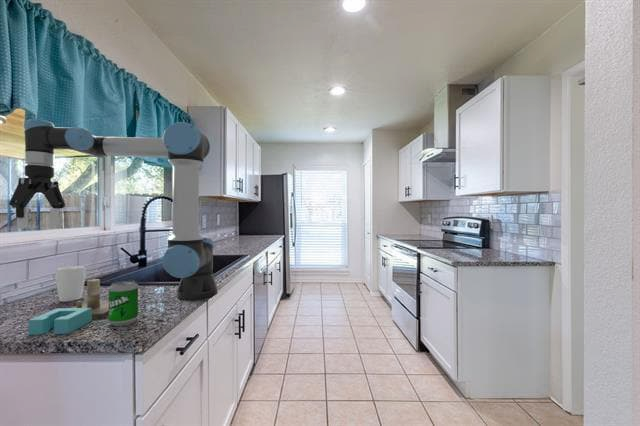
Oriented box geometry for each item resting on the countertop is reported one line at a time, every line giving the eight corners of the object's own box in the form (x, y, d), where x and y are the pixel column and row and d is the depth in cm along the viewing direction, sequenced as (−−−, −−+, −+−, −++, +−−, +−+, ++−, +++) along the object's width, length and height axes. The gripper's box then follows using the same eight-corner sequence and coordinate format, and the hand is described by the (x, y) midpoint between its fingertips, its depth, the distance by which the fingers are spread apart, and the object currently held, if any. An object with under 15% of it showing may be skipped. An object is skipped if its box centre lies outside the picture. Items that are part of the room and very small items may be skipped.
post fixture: (126, 304, 110) (126, 275, 110) (102, 318, 96) (102, 285, 96) (85, 305, 109) (85, 276, 109) (54, 319, 95) (55, 285, 95)
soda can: (126, 317, 98) (126, 279, 98) (143, 320, 95) (143, 281, 95) (102, 325, 91) (102, 284, 91) (120, 328, 88) (120, 286, 88)
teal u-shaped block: (56, 321, 93) (56, 308, 93) (91, 320, 94) (91, 307, 94) (28, 334, 83) (28, 320, 83) (67, 333, 84) (67, 319, 84)
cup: (54, 298, 118) (55, 267, 118) (84, 294, 124) (84, 264, 124) (55, 304, 111) (55, 270, 111) (86, 299, 117) (86, 268, 117)
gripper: (56, 170, 119) (55, 225, 119) (-7, 159, 94) (-8, 229, 94) (76, 170, 119) (76, 225, 119) (19, 159, 94) (19, 229, 94)
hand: (39, 227), depth 107 cm, fingers open, 13 cm apart
